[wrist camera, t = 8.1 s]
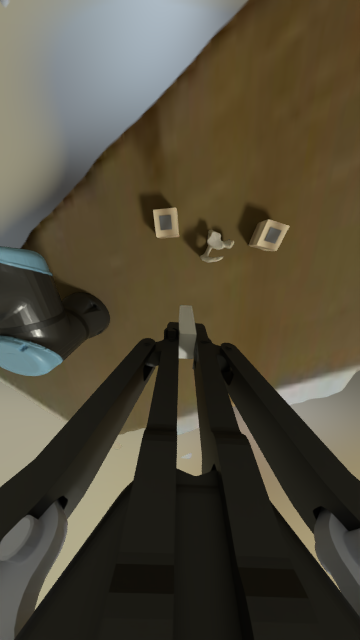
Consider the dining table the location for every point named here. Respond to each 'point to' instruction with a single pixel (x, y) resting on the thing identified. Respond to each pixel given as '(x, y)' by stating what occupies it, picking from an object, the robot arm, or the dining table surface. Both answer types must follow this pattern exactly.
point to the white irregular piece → (215, 246)
